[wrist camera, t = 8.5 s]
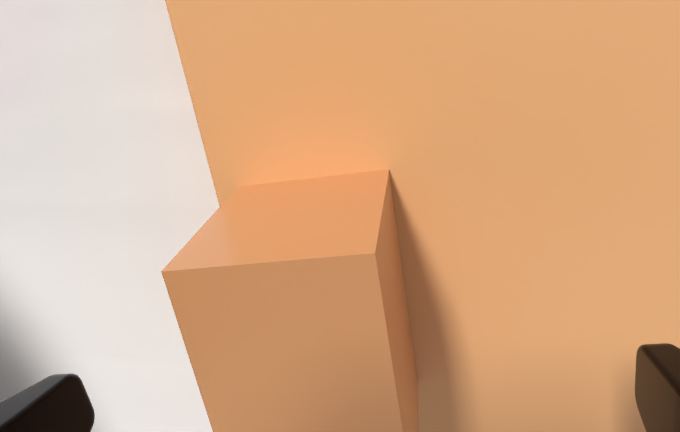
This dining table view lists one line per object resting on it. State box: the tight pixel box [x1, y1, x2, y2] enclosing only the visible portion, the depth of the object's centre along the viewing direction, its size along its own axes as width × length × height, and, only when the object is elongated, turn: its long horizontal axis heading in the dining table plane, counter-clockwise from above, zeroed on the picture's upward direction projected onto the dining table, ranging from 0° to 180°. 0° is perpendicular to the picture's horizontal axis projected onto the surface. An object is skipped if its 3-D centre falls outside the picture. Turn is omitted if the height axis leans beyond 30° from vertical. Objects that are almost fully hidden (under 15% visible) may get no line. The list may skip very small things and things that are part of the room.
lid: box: [161, 0, 680, 432], centre depth 10 cm, size 15×15×5 cm
